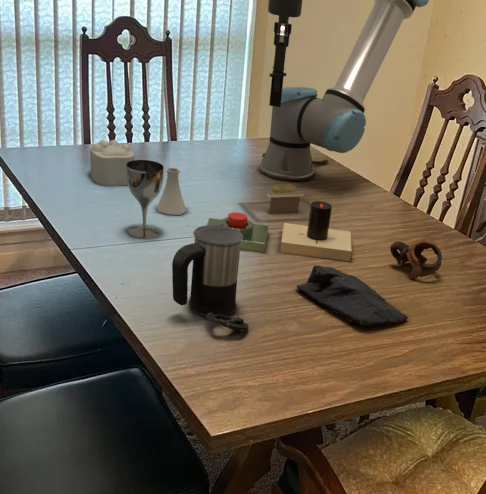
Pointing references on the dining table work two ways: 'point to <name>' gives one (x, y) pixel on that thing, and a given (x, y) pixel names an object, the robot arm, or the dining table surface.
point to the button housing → (247, 234)
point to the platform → (282, 202)
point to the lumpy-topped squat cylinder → (110, 162)
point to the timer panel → (316, 243)
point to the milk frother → (210, 274)
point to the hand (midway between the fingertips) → (274, 105)
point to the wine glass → (144, 190)
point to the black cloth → (349, 297)
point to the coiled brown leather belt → (416, 257)
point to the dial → (319, 220)
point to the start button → (237, 219)
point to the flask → (172, 195)
